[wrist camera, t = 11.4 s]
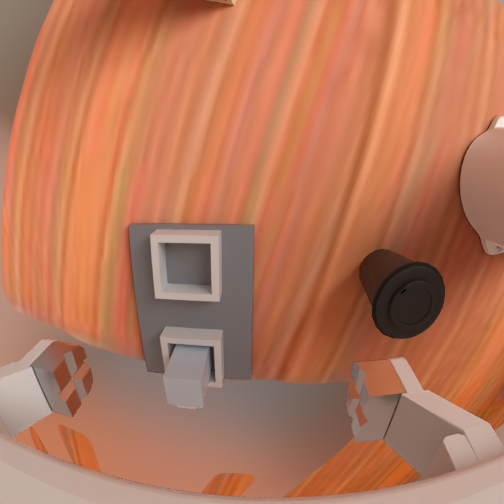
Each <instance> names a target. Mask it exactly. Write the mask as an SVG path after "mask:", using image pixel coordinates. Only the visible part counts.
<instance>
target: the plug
mask: <svg viewBox="0 0 504 504" xmlns="http://www.w3.org/2000/svg"><path fill="white" fill-rule="evenodd" d="M211 370H212V349H211V346H200V345H185V344H176V346H175V349H174V351H173V353H172V356H171V358H170V361H169V363H168V365H167V368H166V370H165V373H164V375H163V382H164V388H165V393H166V398H167V404H170V405H176V407H180V408H191V409H198V408H203V407H204V402H205V398H206V393H207V388H208V384H209V379H210V374H211Z"/></svg>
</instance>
